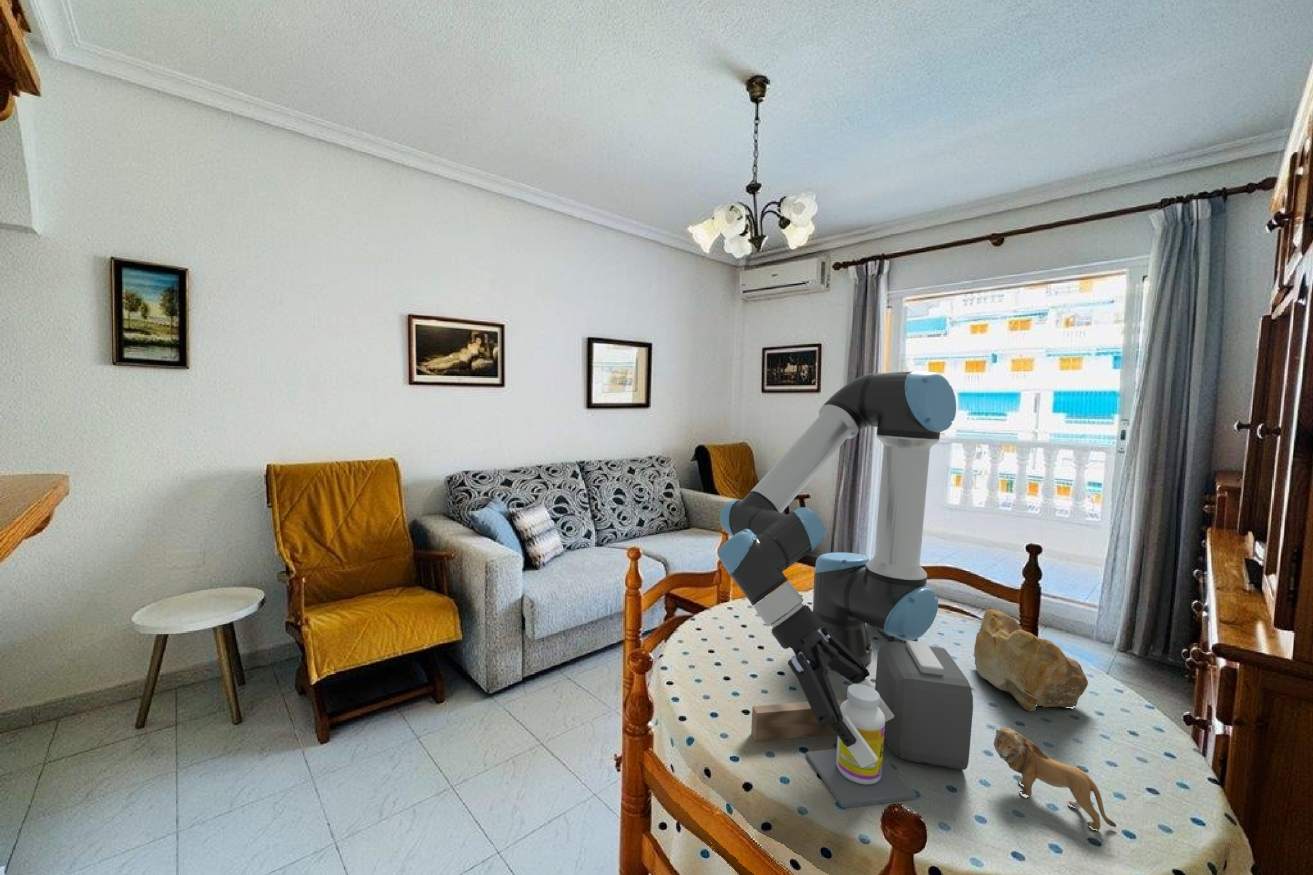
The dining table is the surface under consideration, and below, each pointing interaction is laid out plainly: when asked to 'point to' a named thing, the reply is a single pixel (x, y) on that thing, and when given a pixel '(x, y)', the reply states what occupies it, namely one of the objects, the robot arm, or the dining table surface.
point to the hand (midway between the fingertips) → (879, 740)
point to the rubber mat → (855, 793)
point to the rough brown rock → (1026, 664)
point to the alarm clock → (925, 704)
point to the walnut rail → (786, 721)
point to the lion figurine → (1048, 772)
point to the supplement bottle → (862, 733)
